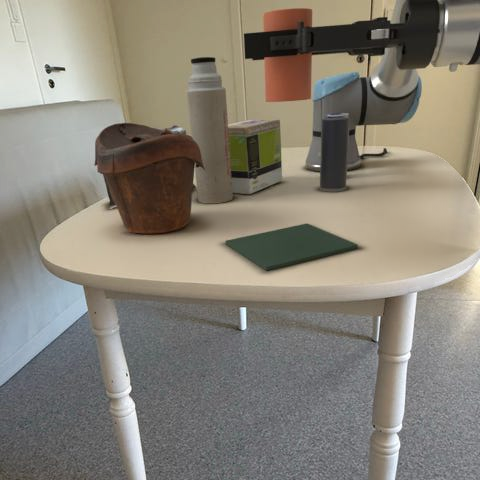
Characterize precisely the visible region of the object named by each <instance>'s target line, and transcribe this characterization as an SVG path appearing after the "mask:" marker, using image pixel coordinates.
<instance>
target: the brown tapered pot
mask: <svg viewBox="0 0 480 480" xmlns="http://www.w3.org/2000/svg"><path fill="white" fill-rule="evenodd" d="M164 129H165V131H163V129H160V128H155V127H151V126H148V125H144V124H139V123H133V122H118V123H114V124H111V125H108V126H106V127H104V129H102V130H101V131H100V132H99V134H98V136H97V137H96V138H95V141H94V164H93V165H94V167H96V166H97V168H96V169H97V173H99V174H101V175H103V174H104V176H105V179H106V181H107V184H108V186H109V189H110V192H111V194H112V196H113V199H114V201H115V204H116V206H117V208H116V209H117V211H118V213H119V217H120V218H121V221H122V224H123V226H124V228H125V230H127V231H128V232H129V233H132V234H141V235H142V234H143V235H145V234H146V235H147V234H149V235H150V234H165V233H170V232H175V231H178V230H181V229H182V228H184V227H186V226H188V224H189V223H190V222H191V218H192V202H193V190H194V189H193V184H194V178H195V163H196V167H197V168H198V167H202V168H203V169H204V170H205V168H204V166H203V162H202V158H201V152H200V148H199V146H198V144H197V143H196V142H195V141H194V140H193V138H192V136H191V135H189V134H186V135H185V134H173V133H171V132H172V131H171V130H168V129H167V128H166V127H165V128H164ZM205 171H206V170H205Z"/></svg>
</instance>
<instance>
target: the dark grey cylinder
mask: <svg viewBox="0 0 480 480" xmlns="http://www.w3.org/2000/svg"><path fill="white" fill-rule="evenodd" d="M349 123H350V118H348V117H333V118H324V119H322V123H321V162H320V171H319V188H318V189H319V190H320V192H326V193H334V192H336V193H337V192H343V191H346V190H347V188H348V187H347V179H348V170H347V161H348V142H349Z"/></svg>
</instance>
